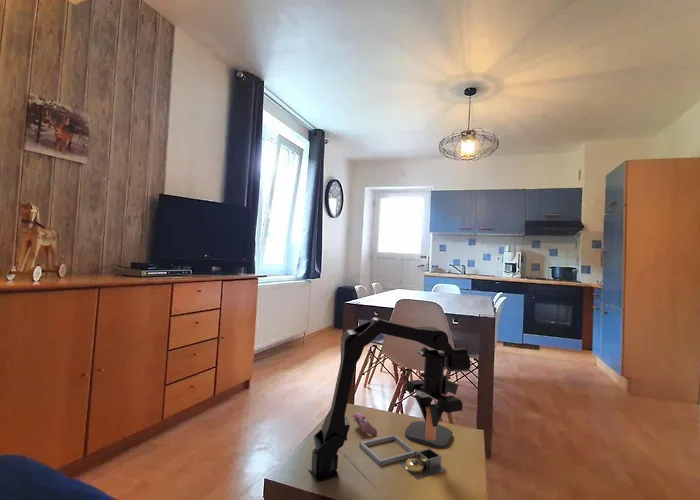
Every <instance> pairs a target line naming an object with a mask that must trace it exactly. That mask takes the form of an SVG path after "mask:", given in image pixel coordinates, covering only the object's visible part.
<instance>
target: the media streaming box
mask: <svg viewBox="0 0 700 500" xmlns="http://www.w3.org/2000/svg"><path fill="white" fill-rule="evenodd" d="M425 430H426V421H425V420H423V421H422V420H417V421H416V420H415V421H412V422H411V423H410V424H409V425H408V426H407V427H406V428H405V431H404V437H405V438H406V439H407V440H409V441H410V442H411V441H412V442H414V443H418V444H421V445H423V446H427V447H431V448H435V449H445V448H447V447H448V445H449V444H450V443H451V440H452V438H453V431H452V430H451V429H449V428H448V427H446V426H443V425H441V424H439V423H438V424H437V426H436V438H435V440H428V439H426V438H425Z"/></svg>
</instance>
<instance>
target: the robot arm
mask: <svg viewBox="0 0 700 500" xmlns="http://www.w3.org/2000/svg"><path fill="white" fill-rule="evenodd" d="M381 334H382V335H386V336H391V337H394V338H395V337H396V338H402V339H405V340H409V341H414V342H417V343H420V344H421V345H424V346H422V348H421V349H420V350H419V351H417V354H418V355H419V356H420V357H422V358H424V361H423V362H424V365H423V372H420V377H422V378H423V380H421V379H413V380H408V381H407V382H406V383H405V391H406V392H408V393H410V394H413V393H414V392H415V391H416V392H415V395H414V396H413V397H414V398H415V400H416V402H417V405H418V406H419V409H420V412H421V414H422V416H423V418H424V421H425V422H426V412H427V411H426V406H428V405H430V411H431V418H432V424H433V427H436V426H437V424H438V425H439V422H440V420H441V417H442V415H443V413H445V414H446V413H447V414H450V413H456V412H460V411H461V412H462V411H463V404H464V403H463V401H462V400H461V399H459V398H458V397H456V395H457V391H458V389H459V384H458V383H455V382H454V381H451V380H450V379H448V377H447V375H445V374H444V372H445V371H444V370H445V369H446V370H447V371H448V372H469V371H470V370H471V365H472V364H471V360H470V357H469V356H470V355H469V353H468V349H467V348H465V347H458V348H455V347H454V348H453V347H452V345H451V344H450V342H449V337H448V334H447V333H446V331H443V330H441V329H439V328H437V327H435V326H412V325H408V324H404V323H399V322H395V321H389V320H385V319H382V318H379V317H376V316H375V317H373V318H370V320H368V321H367V322H364V323H362V324H360V325H357V326H356V327H354V328H353V329H346V330H345V331H343V332H342V334H341V336H340V346H339V347H340V348H339V349H340V363H339V369H338V374H337V377H336V383H335V387H334V392H333V397H332V402H331V404H330V405H331V406H330V409H329V411H328V413H327V414H326V416H325V418H324V420H323V423H322V426H321V428H320V429H319V430H318V431H317V432H316V433H315V434H314V436H313V440H314V447H315V448H314V449H312V450H311V451H312V452H311V453H312V454H311V465H310V466H309V467H308V470H309V472H310V473H311V474H312V476H313V477H314V479H315V480H316V481H317V482H321V481H324V480H329V479H331V478H336V477H339V475H340V474H339V472H338V466H339V465H338V464H339V455H338V452H339V450H340V449H341V448H342V447H344V444H345V441H346V442H347V441H348V434H349V433H348V432H349V431H350V427H351V425H350V422H349V420H348V418H347V416H346V411H347V406H348V402H349V397H350V392H351V388H352V383H353V378H354V377H353V376H354V372H355V368H356V365H357V363H358V362H359V360H360V359H361V356H362V354H363V351H364V349H365V347H366V346H368V345H369V344H370V343H371V342H373V341H374V340H375V339H376V338H377V337H378V336H379V335H381ZM427 347H429V348H430V349H428V348H427ZM439 351H442V352H439ZM448 393H450V394H453V395H454V396H453V395H448ZM444 395H447V396H444ZM433 400H434V403H433V404H432V402H433Z"/></svg>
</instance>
